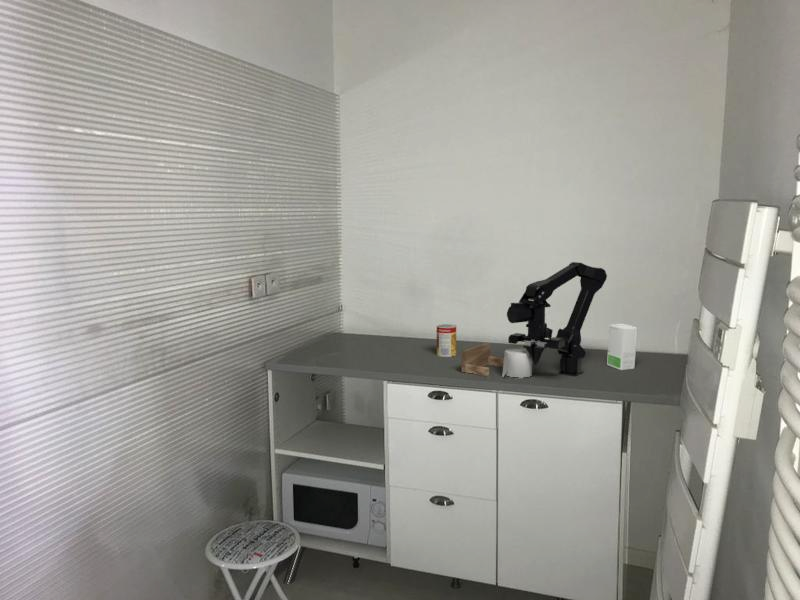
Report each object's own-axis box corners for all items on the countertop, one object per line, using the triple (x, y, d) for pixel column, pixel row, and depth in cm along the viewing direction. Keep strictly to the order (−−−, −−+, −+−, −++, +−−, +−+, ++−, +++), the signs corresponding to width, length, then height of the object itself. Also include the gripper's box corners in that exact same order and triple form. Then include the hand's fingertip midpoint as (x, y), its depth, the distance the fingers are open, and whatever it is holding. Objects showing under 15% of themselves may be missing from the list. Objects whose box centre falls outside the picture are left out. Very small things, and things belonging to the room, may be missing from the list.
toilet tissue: (497, 379, 223) (498, 354, 222) (510, 370, 235) (510, 347, 234) (523, 382, 219) (523, 357, 218) (534, 373, 231) (535, 349, 230)
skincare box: (606, 365, 241) (607, 324, 239) (620, 363, 243) (622, 322, 241) (621, 370, 233) (623, 328, 231) (636, 368, 236) (638, 326, 233)
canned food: (456, 352, 265) (456, 323, 263) (456, 357, 257) (456, 327, 255) (437, 352, 265) (437, 323, 264) (436, 357, 258) (436, 327, 256)
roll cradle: (511, 367, 240) (511, 346, 239) (486, 376, 227) (486, 354, 226) (486, 363, 246) (487, 342, 245) (461, 372, 233) (461, 350, 232)
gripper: (572, 319, 222) (571, 364, 224) (523, 315, 233) (522, 357, 235) (558, 324, 213) (557, 370, 215) (507, 319, 225) (507, 363, 227)
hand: (535, 365), depth 223 cm, fingers closed
